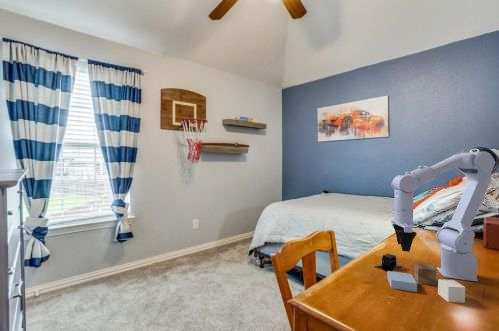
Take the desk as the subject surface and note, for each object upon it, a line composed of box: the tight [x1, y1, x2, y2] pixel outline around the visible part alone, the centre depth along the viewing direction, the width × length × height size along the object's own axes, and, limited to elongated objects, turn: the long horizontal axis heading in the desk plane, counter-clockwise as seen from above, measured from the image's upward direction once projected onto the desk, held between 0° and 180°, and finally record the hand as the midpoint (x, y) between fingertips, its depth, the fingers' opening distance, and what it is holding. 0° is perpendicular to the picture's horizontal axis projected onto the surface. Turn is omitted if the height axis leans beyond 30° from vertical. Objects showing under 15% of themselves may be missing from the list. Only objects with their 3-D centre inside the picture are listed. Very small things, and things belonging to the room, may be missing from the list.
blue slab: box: [386, 271, 418, 293], centre depth 83 cm, size 7×7×3 cm
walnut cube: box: [413, 262, 437, 287], centre depth 86 cm, size 5×5×5 cm
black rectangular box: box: [373, 253, 405, 273], centre depth 97 cm, size 13×8×5 cm, turn 121°
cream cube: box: [437, 278, 466, 304], centre depth 75 cm, size 4×4×4 cm
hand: (403, 247), depth 91 cm, fingers open, 7 cm apart
